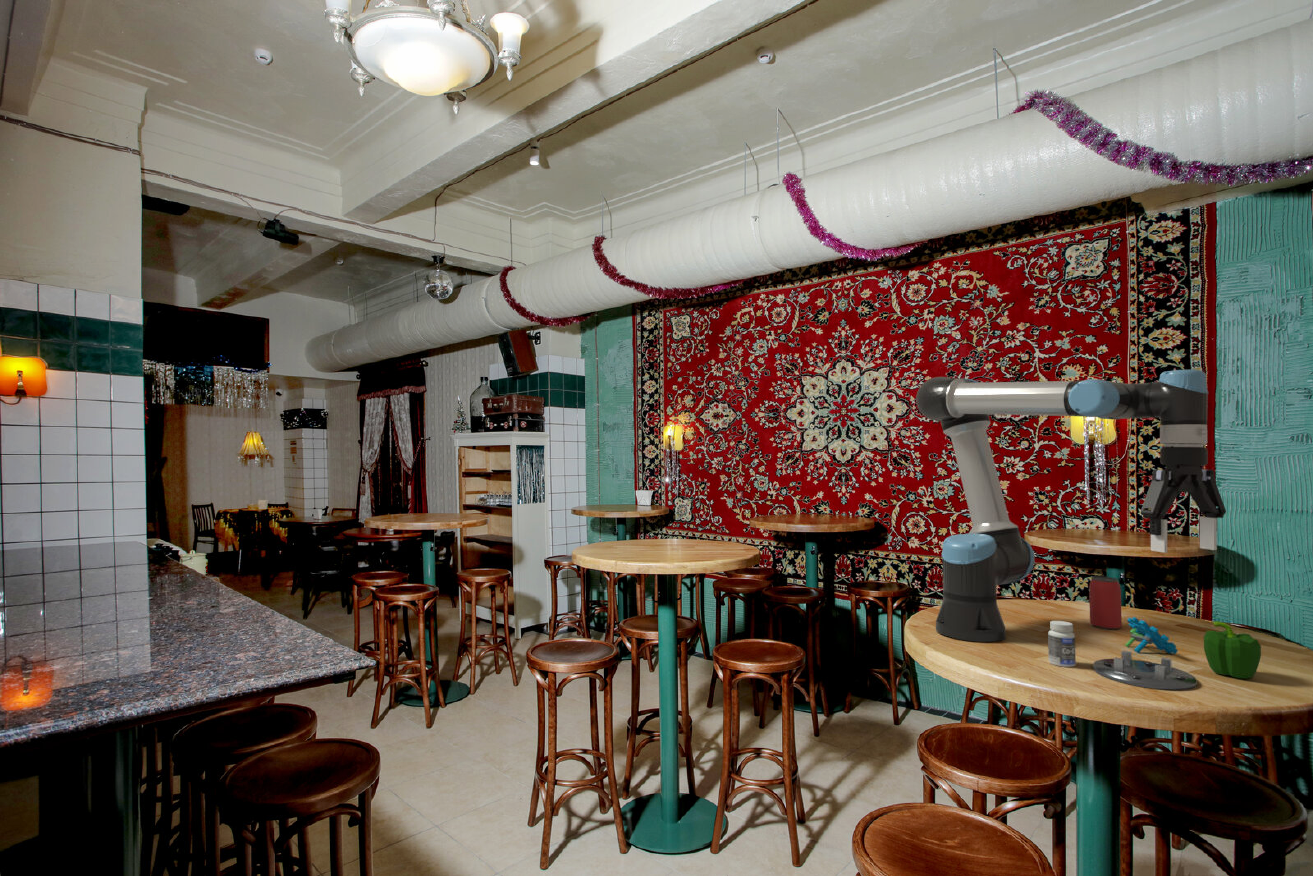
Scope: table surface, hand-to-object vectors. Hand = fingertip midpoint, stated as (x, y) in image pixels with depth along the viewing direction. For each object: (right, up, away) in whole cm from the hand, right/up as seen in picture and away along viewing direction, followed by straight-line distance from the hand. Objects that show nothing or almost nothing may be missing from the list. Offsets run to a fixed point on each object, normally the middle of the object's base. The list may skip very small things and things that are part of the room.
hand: (1183, 550), depth 132 cm
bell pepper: (+5, -24, -6) cm, 25 cm away
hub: (-13, -23, -6) cm, 27 cm away
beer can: (+5, -25, +30) cm, 39 cm away
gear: (0, -24, +9) cm, 26 cm away
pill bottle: (-24, -24, +1) cm, 34 cm away
